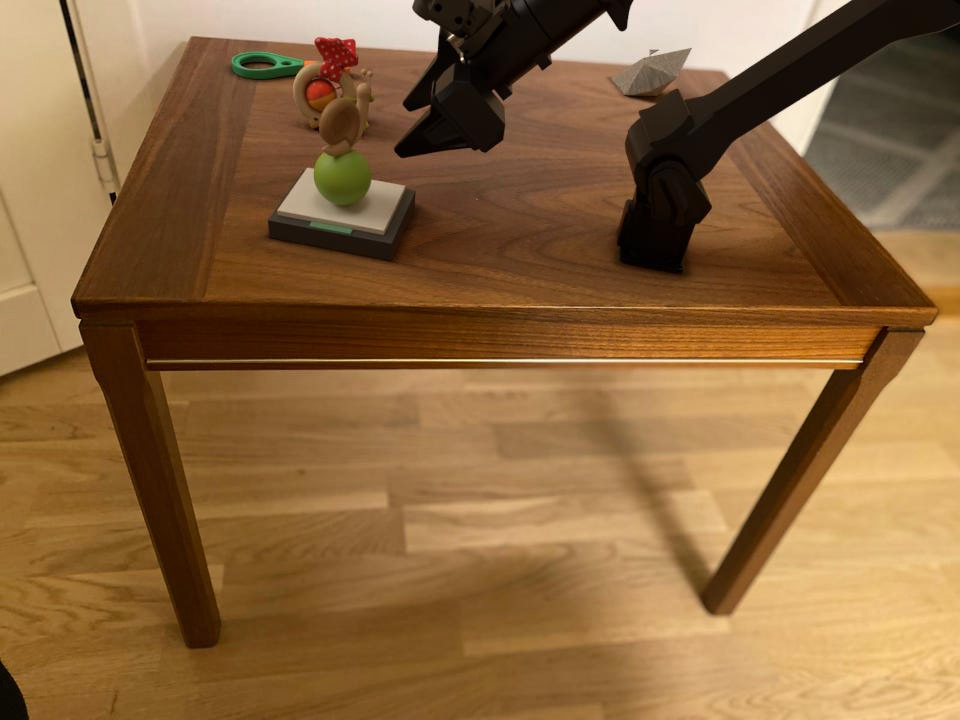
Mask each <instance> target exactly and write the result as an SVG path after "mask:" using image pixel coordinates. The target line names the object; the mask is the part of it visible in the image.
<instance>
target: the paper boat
mask: <svg viewBox="0 0 960 720" xmlns="http://www.w3.org/2000/svg"><path fill="white" fill-rule="evenodd" d="M692 49H693V48H692V47H689V48H684V49H679V50H675V51H669V52H664V53H659V54H655V53H657V52H658V51H660V49H649V51H648V52H649V56H645V57H642V58H640V59H639V60H638V61H636V62H635V63H633V64H631V65H630V66H628V67H626V68H625V69H623V70H622V71H620V72H619V73H617V74H616V75H613V77H611V78H610V79H611V81H612V82H613V83H614V84H615V86H616V87H617V88H618V89H619V91H620V92H621V93H622V95H624V96H636V97H654V98H655V97H656V98H657V97H658V96H659V95H660V94H661V93H662V92H663V91H664V90H666V89H667V88H668V87H669V86H670V85H671V84H672V83H673V82H674V81H675V80H676V79H677V78H678V77H679V75H680V73H681V72H682V69H683V67H684V66H685V64H686V61H687V59H688V57H689V55H690V53H691V51H692ZM653 54H655V55H653Z"/></svg>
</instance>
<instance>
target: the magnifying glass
mask: <svg viewBox="0 0 960 720" xmlns="http://www.w3.org/2000/svg"><path fill="white" fill-rule="evenodd" d="M315 61H316V60H303V59H298V58H295V57H290V56H286V55H281V54H277V53H273V52H267V51H246V52H242V53H238V54H236V55H234V56H233V57H232V58H231V67H232V71H233V72H234V74H236V75H238V76H240V77H243V78H246V79H253V80H267V79H274V78H281V77H287V76H293V75H297V74H298V73H299V71H300V70H301V69H302V68H303V67H305V66H306V65H308V64H309V63H312V62H315ZM250 62H268V63H271V64H274V66H272V67H269V68H261V69H259V68H258V69H256V68H255V69H254V68H247V67H245V66H242V65H244V64H246V63H250ZM344 69H345V70H346V71H347V72H348V74H349V75H350V74H351V67H346V68H344ZM350 76H351V75H350Z"/></svg>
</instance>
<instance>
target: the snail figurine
mask: <svg viewBox="0 0 960 720" xmlns="http://www.w3.org/2000/svg"><path fill="white" fill-rule="evenodd" d="M361 75H363V82H361V83H360V84H359V85H358V86H357V87H356V94H357V104H356V105H355V103H354V102H352V101H351V100H350V99H347V98H340V97H337V99H335V100H333V101H331V102H330V103H329V104H328V105H327V106H326V107H325V109H324V110H323V112H322V115H321V118H320V122H319V127H318V131H319V136H320V138H321V139H322V141H324V142H325V143H326V144H327V145H325V146H323V147H322V149H321V150H322V152H323V153H321V155H319V157H318V158H317V160H316V162H315V164H314V167H313V169H314V182H315V185H316V188H317V189H318V191H319V193H320V194H321V195H322V196H323V197H324V198H325V199H326V200H328V201H329V202H331V203H334V204H337V205H350V204H354V203H356V202H358V201H359V200H361V199H362V198H363V197H364V196H365V195H366V194H367V192H368V190H369V188H370V185H371V180H373V179H372V178H373V177H372V168H371V166H370V164H369V162H368V160H367V158H365V156H364V155H362V153H361V152H359V151H358V150H356V149H354V148H353V147H354V146H355V145H356V144H357V143H358V142H359V141H360V139H361V138H362V136H363V134H364V131H365V130H364V128H365V125H366V121H367V122H368V117H369V116H368V115H369V109H370V103H369V98H370V95H371V94H372V87H371V84H372V83H371V82H372V81H371V80H372V77H374V72H373V71H372V70H367V68H362V69H361ZM366 76H367V77H368V78H369V83H367V82H366Z"/></svg>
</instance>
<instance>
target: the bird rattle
mask: <svg viewBox="0 0 960 720" xmlns="http://www.w3.org/2000/svg"><path fill="white" fill-rule="evenodd" d="M313 43H314V45H315V47H316V49H317V51H318V53H319V55H320V57H321V58H322V60H314V61H315V62H312V63H309V64H308V65H306V66H305V67H303V68H302V69H301V70H300V71H299V73H298V74H296V76H295V77H294V81H293V84H292V98H293V101H294V103H295V105H296V108H297V109H298V111H299V112H300V114H301V115H302V116H303V117H304V118H305V119H306V120H308V122H309V125H310V128H312V129H317V128H319V122H320V118H321V115H322V112H323V110H324V109H325V107H326V106H327V105H328V104H329V103H330V102H331V101H333V100H335V99H337V98H338V93H337V90H341V91H342V93H341V94H340V97H339V98H347V99H350V100H351V101H352V102H354V103H355V105H356V104H357V98H358V96H357V87H356V85H355V83H354V80H353V78H352V77H351V75H349V74H348V72H347V71H346V70H345V69H344V68H346V67H350V68H353V67H356V66H358V65H359V59H360V58H359V54H357V48H356V47H357V42H356V40H355V39H354V38H347V39H341V38H340V37H332V38H331V37H328V38H326V37H322V36H317V37H316V38H315V39H314V40H313ZM333 83H335V84H338V85H339V86H337V87H335V86H334V84H333ZM374 101H375V96H374V94H372V93H371V95H370V98H369V104H370V103H373V102H374ZM369 127H370V125H369V123H368V120H367V121H366V125H365V128H364V131H365V130H367V129H368V128H369Z"/></svg>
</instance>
